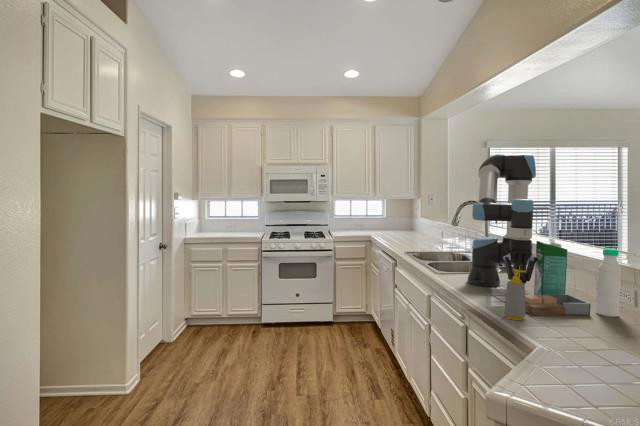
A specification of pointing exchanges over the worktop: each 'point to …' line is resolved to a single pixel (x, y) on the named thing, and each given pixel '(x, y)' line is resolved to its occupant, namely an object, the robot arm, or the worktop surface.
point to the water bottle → (609, 284)
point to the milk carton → (550, 269)
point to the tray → (572, 304)
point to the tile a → (533, 299)
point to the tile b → (548, 299)
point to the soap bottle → (515, 298)
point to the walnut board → (545, 309)
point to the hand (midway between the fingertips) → (518, 298)
